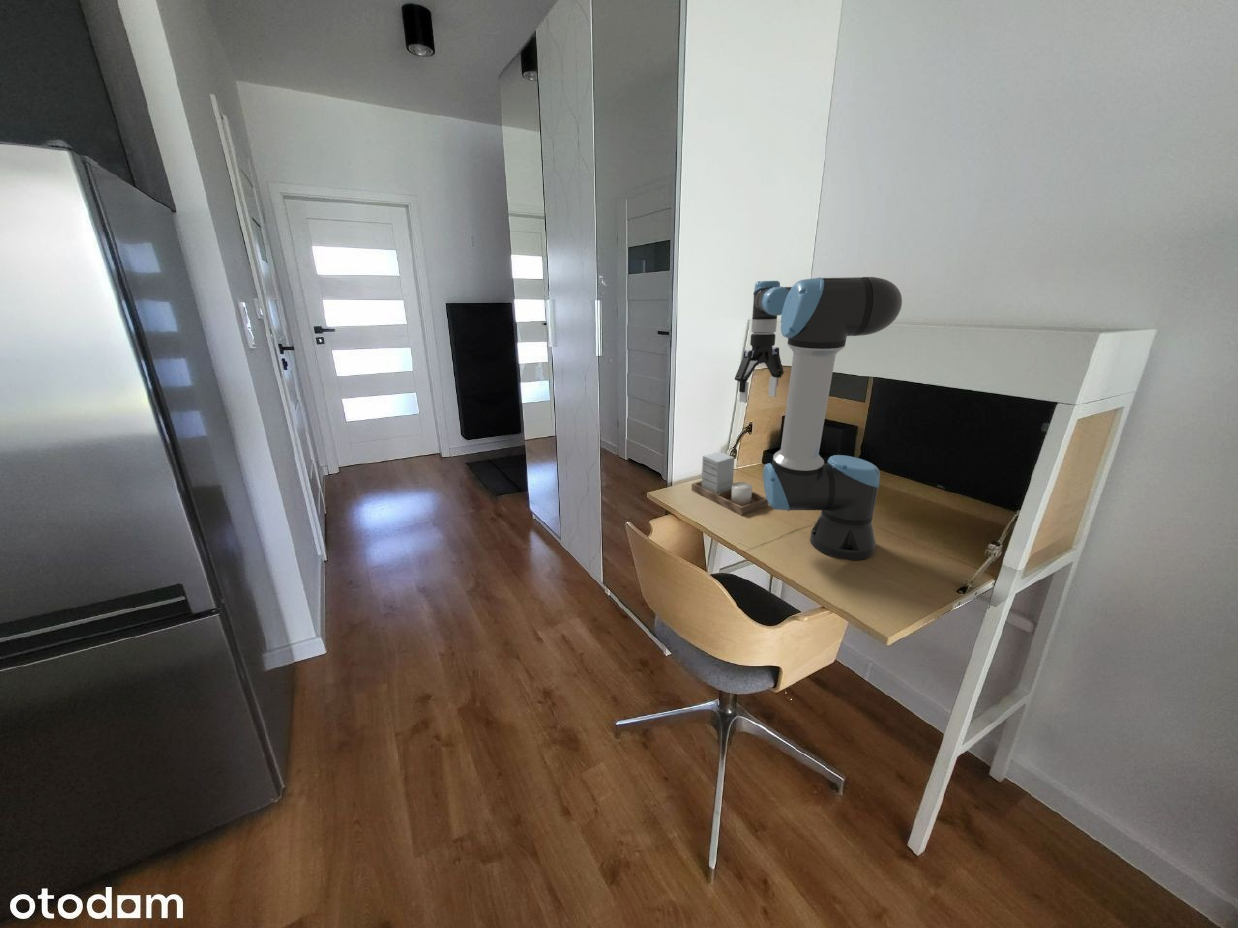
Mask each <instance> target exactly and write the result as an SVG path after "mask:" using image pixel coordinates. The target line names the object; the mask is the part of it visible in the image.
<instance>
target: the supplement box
mask: <svg viewBox="0 0 1238 928" xmlns="http://www.w3.org/2000/svg"><path fill="white" fill-rule="evenodd" d="M701 466H702V467H701V468H702V469H701V470H702V471H701V481H702V488H704V489H706V490H709V491H711V492H713V493H715V494H718V493H721V492H725V491H728V490H731V489H732V484H733V483H734V475H735V474H734V472H735V471H734V470H735V457H734V456H732V455H729V454H727V453H726V454H725V453H723V452H721V451H717V452H716V451H715V452H712V453H709V454H707V455H702V465H701Z"/></svg>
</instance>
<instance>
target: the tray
mask: <svg viewBox="0 0 1238 928" xmlns="http://www.w3.org/2000/svg"><path fill="white" fill-rule="evenodd" d="M691 491H692V492H693V493H696V494H697V495H699V496H701V497H703V498H705V499H707V500H709V501H711V502H713V503H716V504H717V505H719V506H721V507H723V508H725V509H727V510H730V511H731V512H733V513H735V514H737V515H739V516H743V515H746V514H750V513H753V512H756V511H758V510H761V509H764V508H767V507H769V503H768V501H767V498H766V496H764V495H761V494H759V493H756V492H754V491H752V495H751V503H750V504H747V505H744V506H740V505H738V504H735V503H733V502H731V492H732V489H731V490H728V491H725V492H721V493H718V494H715V493H713V492H711V491H709V490H706V489H704V488H702V480H700V481H698V482H693V483H691Z"/></svg>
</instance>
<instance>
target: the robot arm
mask: <svg viewBox="0 0 1238 928" xmlns="http://www.w3.org/2000/svg"><path fill="white" fill-rule="evenodd" d="M780 283H781V281H780V280H761V281H760V280H759V281H756V282H755V284H754V288H753V289H754V290H753V304H752V317H751V319H752V320H751V331H750V332H751V334H750V341H749V342H750V343H749V344H750V346H751V349H750V350H749V349H745V350H744V351H743V355H742V359H741V362H740V364H739V366H738V369H737V371H736V374H735V377H734V380H735V381H737V382H739V383H738V384H739V386H738V387H739V388H738V391H739V402H741V403H744V404H745V403H748V395H749V384H750V383H749V382H748V380H749V378H750V377H751V375H752V374H753V372H754V370H755V369H756V367H757V366H759V364H765V366H766V368H767V369H768V371H769V373H770V375H771V376H769V382H768V392H767V393H768V394H767V396H768V397H771V398H777V392H778V391H777V389H778V386H779V378H782V376H783V375H784V368H783V364H781V363H782V360H781V356H780V347H779V346H778V347H775V344H776V332H777V323H778V316H780V317H781V318H780V323H781V324H780V333H781V335H782V336H783V337H784V338H786V339H787V346H788V347H789V348H790V349H791V350H792V352H793V356H792V361H791V362H792V363H791V369H790V377H789V383H788V384H789V385H788V392H787V398H786V399H787V401H786V406H785V407H786V408H785V416H784V422H783V431H782V437H781V445H780V449H779V450H778V451H776V452H775V453H774V454H773V456H772V457H773V458H772V463H771V462H769V463H765V465H764V467H763V470H762V480H763V488H764V493H765V497H766V498H767V501H768V503H769V504H768V506H770V507H771V509H774V510H777V511H787V512H791V511H820V512H821V513H820V515H819V517H817V518H818V519H817V520H816V522H815V524H814V526H812V527H813V528H812V529H811V532H810V538H809V541H810V544H811V545H812V546H813V548H815V549H816V550H818V552H821V553H823V554H825V555H827V556H829V557H832V558H837V559H840V560H846V561H847V560H848V561H861V560H866V559H869V558H871V557H872V556H873V555H874V554H875V550H876V544H877V543H876V539H875V533H874V527H873V524H872V523H873V522H872V521H873V517H874V512H875V507H876V502H877V495H878V491H879V488H880V479H881V473H880V472H881V471H880V469H879V468H878V467H877V466H876V465H875V464H873V463H872V462H870V461H867V460H865V459H863V458H859V457H856V456H855V457H854V456H850V455H844V454H843V455H842V454H836V455H835V454H834V455H831V456H830V457H828V459H827V462H826V463H825V460H824V459H823V457H821V455H820V454H819V453H820V448H821V443H822V436H823V431H824V426H825V425H824V424H825V418H826V413H827V407H828V401H829V396H830V389H831V384H832V378H833V371H834V366H835V361H836V355H837V353H839V352H840V351H841V350H843V349H844V348H845V347H846V342H847V337H857V336H859V337H860V336H867V335H872V334H876V333H878V332H881V331H882V330H884V329H886V328H887V327H889V326H890V325H891V324H892V323H894V321H895V320H896V319H897V318H898V315H899V313H900V312H901V309H902V305H903V299H902V298H903V297H902V293H901V292H900V289H899V288H898V287H897V285H895V284H894V283H893V282H892V281H889V280H888V279H884V278H881V277H876V276H863V277H860V276H859V277H855V276H854V277H814V278H806V279H800V280H798V281H797V282H795V283H794V284H793V285H792V286H781V284H780Z"/></svg>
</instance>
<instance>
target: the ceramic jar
mask: <svg viewBox="0 0 1238 928" xmlns="http://www.w3.org/2000/svg"><path fill="white" fill-rule="evenodd" d="M752 492H753V486H752V484H750V483H748V482H743V481H738V482H733V484H732V492H731V502H733V503H735V504H738V505H740V506H744V505H747V504H750V503H751V495H752Z"/></svg>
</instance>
